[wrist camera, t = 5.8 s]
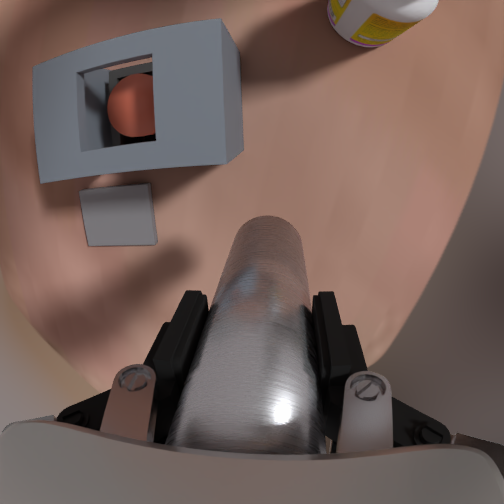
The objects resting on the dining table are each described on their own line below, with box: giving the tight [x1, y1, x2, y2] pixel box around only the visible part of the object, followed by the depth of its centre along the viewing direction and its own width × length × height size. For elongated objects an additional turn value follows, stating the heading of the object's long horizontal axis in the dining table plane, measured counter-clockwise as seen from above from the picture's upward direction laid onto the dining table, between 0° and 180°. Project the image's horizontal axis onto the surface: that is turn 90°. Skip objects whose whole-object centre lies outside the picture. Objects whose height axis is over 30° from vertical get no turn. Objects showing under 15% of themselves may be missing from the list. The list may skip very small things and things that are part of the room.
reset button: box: [107, 73, 156, 137], centre depth 22 cm, size 5×5×3 cm
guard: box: [33, 18, 244, 184], centre depth 22 cm, size 14×9×10 cm, turn 92°
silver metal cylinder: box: [165, 216, 326, 455], centre depth 12 cm, size 4×4×14 cm
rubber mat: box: [79, 183, 158, 246], centre depth 30 cm, size 8×6×1 cm
